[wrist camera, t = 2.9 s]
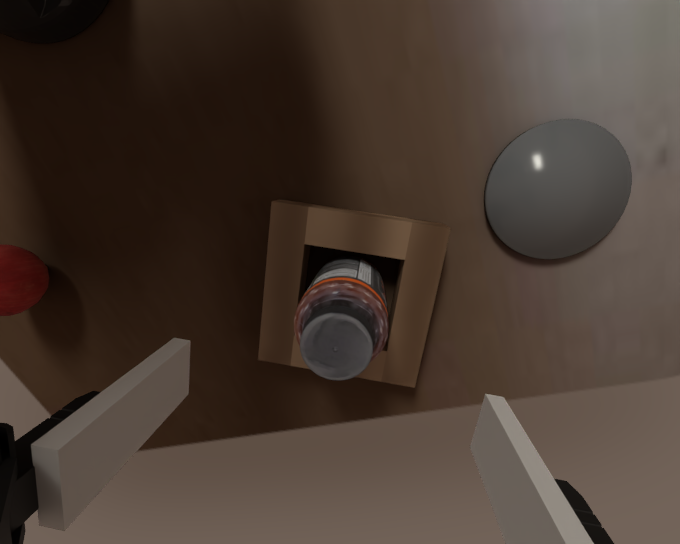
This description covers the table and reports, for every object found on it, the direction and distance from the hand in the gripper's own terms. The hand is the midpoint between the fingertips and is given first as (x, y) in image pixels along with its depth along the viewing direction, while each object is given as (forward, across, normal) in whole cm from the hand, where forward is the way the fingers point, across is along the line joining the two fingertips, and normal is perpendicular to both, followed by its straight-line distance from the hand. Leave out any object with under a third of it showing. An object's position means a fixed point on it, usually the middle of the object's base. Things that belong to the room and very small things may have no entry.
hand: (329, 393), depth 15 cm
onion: (+15, -28, -2) cm, 32 cm away
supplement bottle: (+15, 0, 0) cm, 15 cm away
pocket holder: (+15, 0, 0) cm, 15 cm away
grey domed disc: (+14, +14, +10) cm, 23 cm away
